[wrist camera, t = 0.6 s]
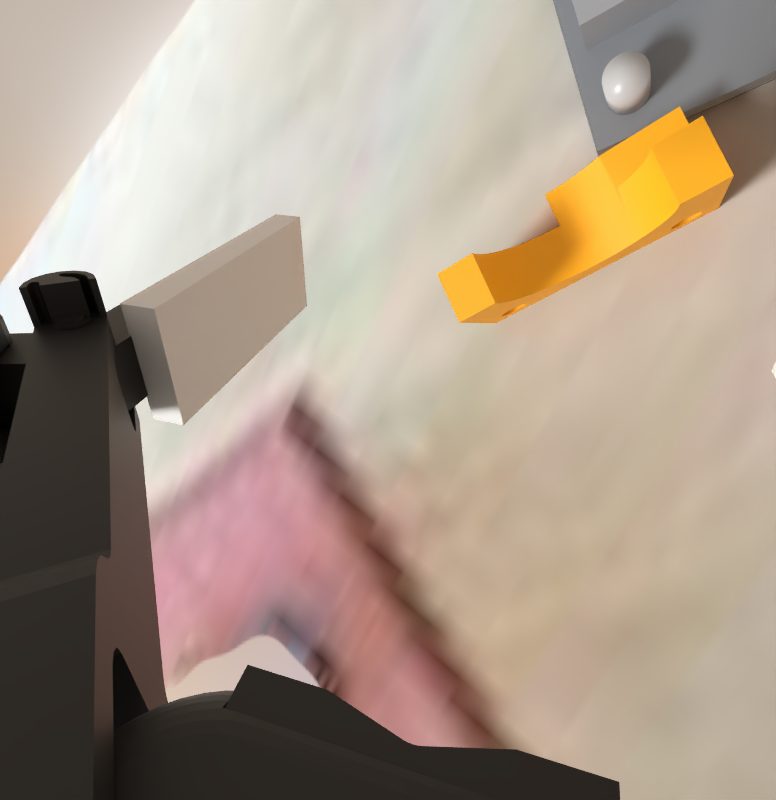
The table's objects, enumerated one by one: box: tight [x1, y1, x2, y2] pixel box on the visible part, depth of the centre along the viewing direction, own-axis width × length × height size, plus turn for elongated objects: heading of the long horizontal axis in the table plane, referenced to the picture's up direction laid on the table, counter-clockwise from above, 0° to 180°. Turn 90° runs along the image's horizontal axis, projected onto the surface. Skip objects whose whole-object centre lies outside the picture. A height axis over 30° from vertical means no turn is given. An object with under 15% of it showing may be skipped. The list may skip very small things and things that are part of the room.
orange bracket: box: [437, 106, 734, 323], centre depth 26 cm, size 12×4×6 cm, turn 118°
